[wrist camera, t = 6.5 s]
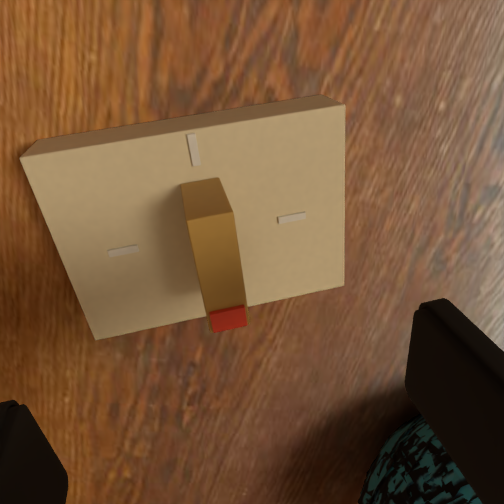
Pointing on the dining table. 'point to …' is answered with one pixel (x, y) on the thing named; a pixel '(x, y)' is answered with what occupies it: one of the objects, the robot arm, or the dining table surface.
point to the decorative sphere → (415, 471)
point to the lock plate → (172, 211)
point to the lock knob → (215, 253)
